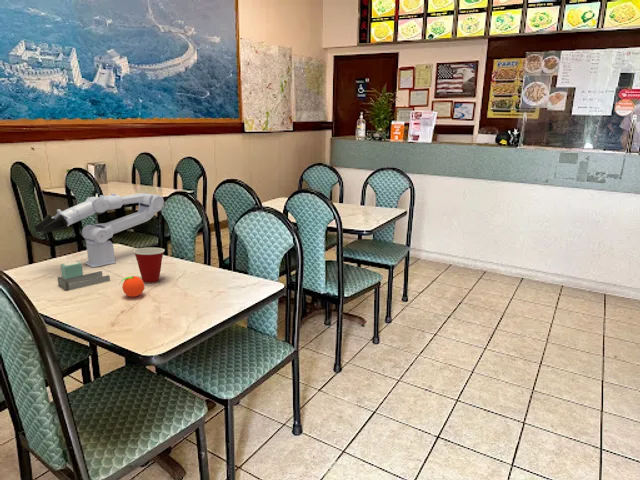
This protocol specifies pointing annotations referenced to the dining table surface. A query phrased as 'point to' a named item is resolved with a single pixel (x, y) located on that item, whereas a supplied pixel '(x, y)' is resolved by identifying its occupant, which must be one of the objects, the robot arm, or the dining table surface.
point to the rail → (66, 282)
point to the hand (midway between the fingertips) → (40, 229)
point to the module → (71, 269)
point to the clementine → (133, 286)
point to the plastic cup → (149, 263)
